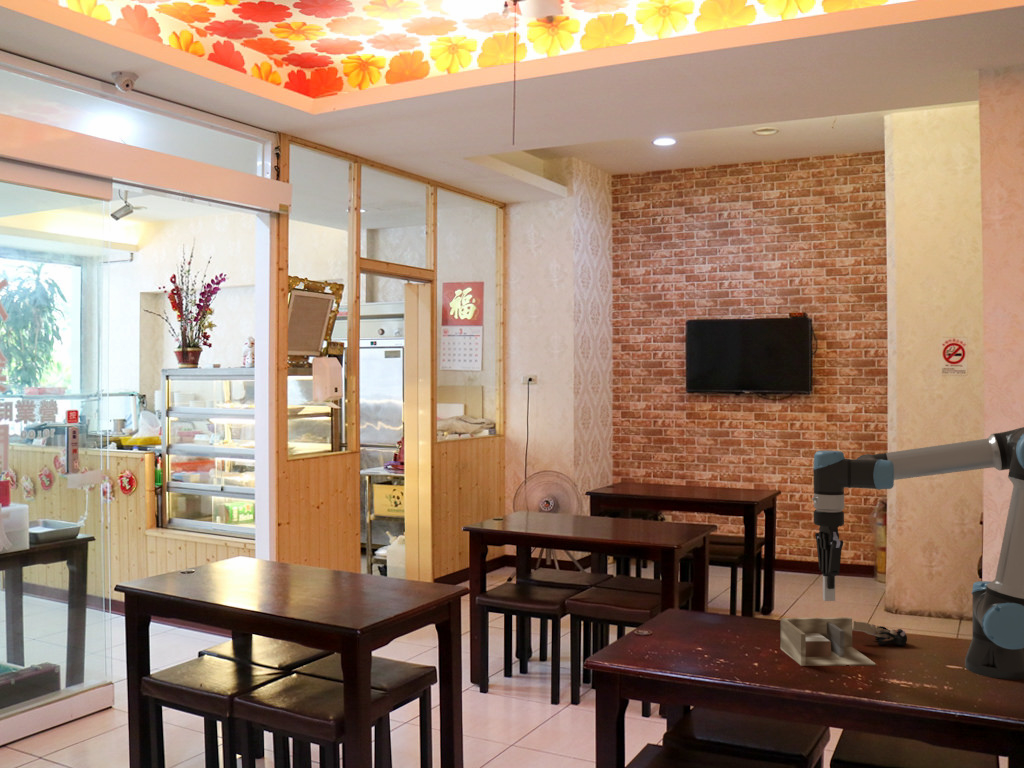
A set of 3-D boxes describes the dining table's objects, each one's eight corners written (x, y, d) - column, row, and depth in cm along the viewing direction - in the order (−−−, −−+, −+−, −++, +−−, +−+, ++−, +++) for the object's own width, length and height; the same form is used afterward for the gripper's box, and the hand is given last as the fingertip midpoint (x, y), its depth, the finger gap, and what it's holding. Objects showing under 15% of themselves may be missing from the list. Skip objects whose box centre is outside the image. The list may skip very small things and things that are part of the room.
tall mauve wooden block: (830, 656, 244) (819, 647, 252) (830, 641, 244) (819, 632, 252) (802, 657, 244) (791, 648, 252) (802, 641, 244) (791, 633, 252)
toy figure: (850, 621, 266) (904, 632, 262) (848, 642, 263) (902, 654, 260) (854, 616, 259) (910, 627, 256) (853, 637, 257) (909, 649, 253)
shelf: (850, 649, 254) (850, 617, 254) (875, 667, 238) (875, 633, 238) (780, 650, 253) (780, 618, 253) (801, 668, 237) (801, 634, 237)
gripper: (805, 506, 242) (805, 594, 242) (824, 513, 229) (824, 606, 229) (833, 506, 242) (833, 594, 242) (853, 513, 229) (853, 606, 229)
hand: (828, 600), depth 236 cm, fingers closed
